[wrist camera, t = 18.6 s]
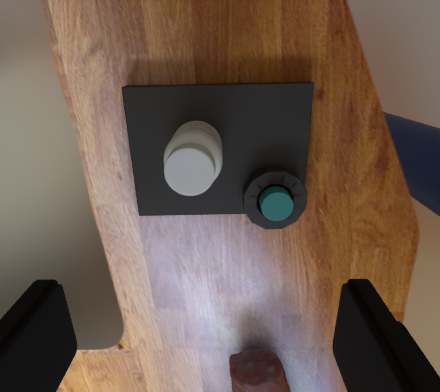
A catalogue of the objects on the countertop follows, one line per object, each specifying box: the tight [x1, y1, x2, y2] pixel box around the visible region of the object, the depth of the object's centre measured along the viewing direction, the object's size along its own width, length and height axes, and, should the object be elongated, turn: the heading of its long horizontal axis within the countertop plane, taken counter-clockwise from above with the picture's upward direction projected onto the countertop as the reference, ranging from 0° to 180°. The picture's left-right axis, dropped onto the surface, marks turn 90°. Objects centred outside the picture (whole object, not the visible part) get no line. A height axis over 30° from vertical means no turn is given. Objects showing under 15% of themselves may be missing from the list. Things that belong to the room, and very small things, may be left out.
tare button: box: [259, 186, 293, 221], centre depth 28 cm, size 3×3×2 cm
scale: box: [122, 82, 314, 229], centre depth 28 cm, size 16×13×3 cm
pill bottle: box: [164, 121, 222, 196], centre depth 24 cm, size 4×4×8 cm
